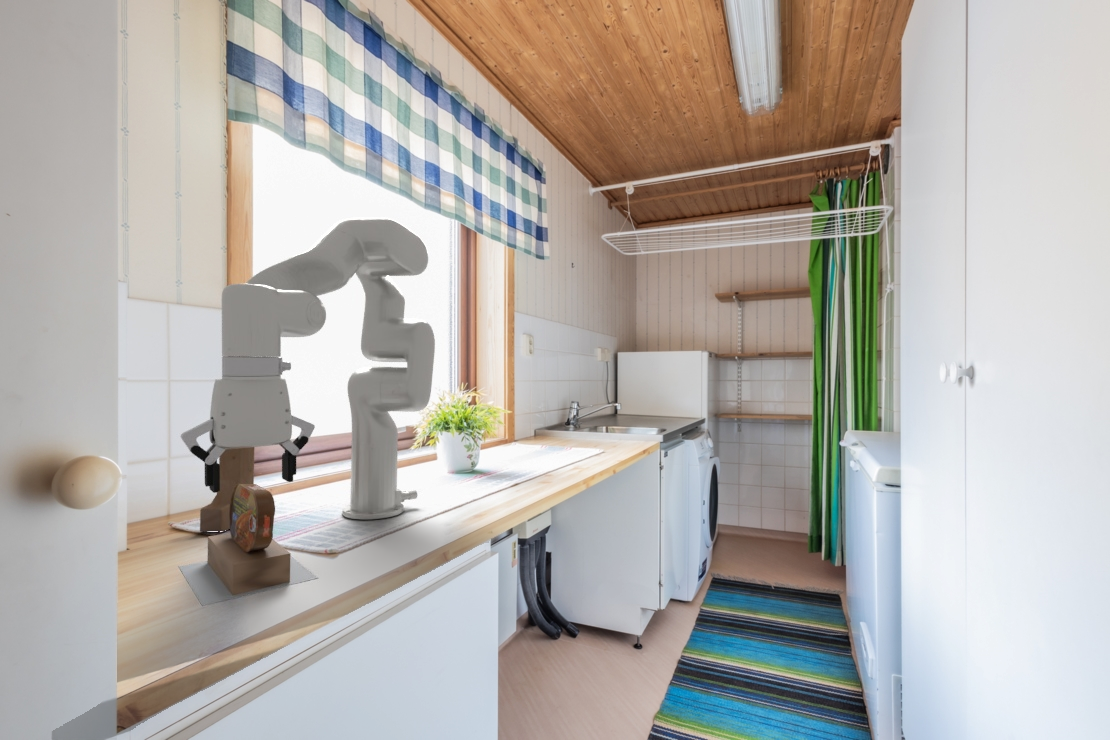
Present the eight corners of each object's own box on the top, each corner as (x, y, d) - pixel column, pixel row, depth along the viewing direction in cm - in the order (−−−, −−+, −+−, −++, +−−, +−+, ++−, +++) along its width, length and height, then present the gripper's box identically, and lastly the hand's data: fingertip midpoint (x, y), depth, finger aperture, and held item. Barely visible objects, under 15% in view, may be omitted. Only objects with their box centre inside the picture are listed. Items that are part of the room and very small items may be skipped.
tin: (226, 534, 83) (228, 479, 83) (249, 530, 85) (250, 477, 85) (252, 559, 72) (253, 496, 72) (277, 554, 74) (278, 493, 74)
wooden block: (220, 533, 99) (223, 437, 100) (198, 532, 100) (201, 436, 100) (253, 520, 108) (255, 432, 108) (233, 519, 109) (235, 431, 109)
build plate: (279, 553, 89) (279, 547, 89) (318, 585, 76) (318, 577, 76) (178, 573, 80) (178, 566, 80) (202, 613, 67) (202, 605, 67)
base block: (258, 553, 86) (258, 528, 86) (289, 582, 74) (290, 553, 74) (207, 562, 81) (208, 536, 81) (232, 595, 70) (233, 564, 70)
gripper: (305, 368, 87) (305, 472, 87) (176, 369, 75) (177, 490, 76) (321, 369, 82) (321, 481, 82) (185, 370, 70) (186, 500, 70)
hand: (252, 485), depth 79 cm, fingers open, 9 cm apart
